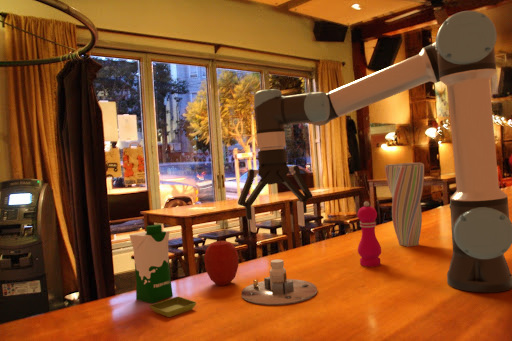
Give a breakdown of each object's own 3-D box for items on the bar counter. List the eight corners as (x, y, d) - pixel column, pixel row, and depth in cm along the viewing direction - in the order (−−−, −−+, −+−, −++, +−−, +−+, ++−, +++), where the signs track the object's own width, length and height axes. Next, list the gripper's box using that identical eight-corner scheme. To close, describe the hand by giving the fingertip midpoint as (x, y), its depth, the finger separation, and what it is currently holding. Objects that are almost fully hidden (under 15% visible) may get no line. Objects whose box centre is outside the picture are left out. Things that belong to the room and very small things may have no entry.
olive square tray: (149, 313, 112) (148, 305, 112) (178, 303, 118) (178, 295, 118) (167, 321, 106) (166, 312, 106) (198, 310, 112) (197, 302, 112)
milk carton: (151, 305, 117) (145, 228, 117) (131, 300, 123) (125, 227, 122) (177, 295, 124) (172, 223, 123) (156, 291, 130) (151, 222, 129)
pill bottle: (289, 290, 119) (287, 261, 119) (273, 293, 118) (271, 263, 117) (284, 286, 123) (282, 258, 123) (268, 288, 122) (266, 260, 122)
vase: (436, 245, 163) (431, 162, 162) (406, 250, 158) (401, 165, 157) (410, 239, 176) (406, 162, 175) (382, 244, 171) (377, 165, 170)
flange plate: (329, 297, 113) (328, 283, 113) (252, 310, 108) (251, 295, 108) (300, 278, 133) (300, 266, 133) (234, 288, 127) (233, 275, 127)
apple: (246, 284, 131) (243, 236, 130) (214, 291, 126) (211, 241, 125) (231, 277, 140) (227, 232, 139) (200, 283, 135) (197, 237, 134)
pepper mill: (383, 266, 139) (379, 202, 138) (359, 267, 140) (354, 203, 140) (381, 261, 146) (377, 199, 145) (358, 261, 147) (354, 200, 147)
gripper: (309, 146, 127) (315, 221, 128) (222, 152, 120) (229, 232, 121) (320, 145, 120) (326, 224, 120) (228, 152, 113) (235, 236, 114)
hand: (277, 228), depth 121 cm, fingers open, 13 cm apart
